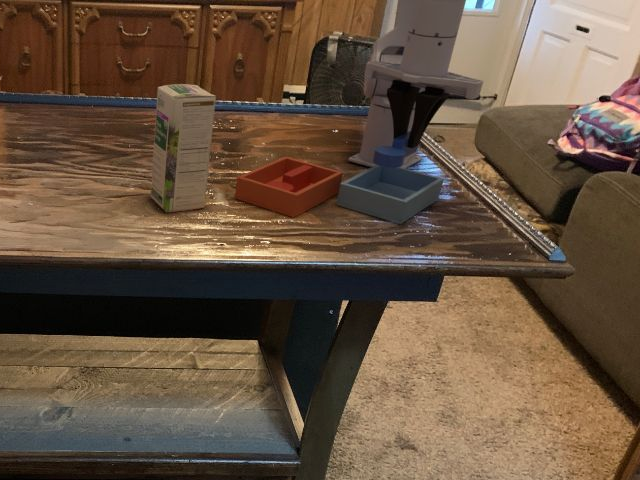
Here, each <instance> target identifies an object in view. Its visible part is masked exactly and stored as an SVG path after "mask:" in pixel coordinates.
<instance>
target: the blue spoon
mask: <svg viewBox="0 0 640 480" xmlns="http://www.w3.org/2000/svg"><path fill="white" fill-rule="evenodd" d="M410 132H411V131H409V132H407V133H405V134H403V135H401V136H399V137H397V138H394V139H393V144H392V147H390V146H381V147H377V148H376V149H375V153H374V157H373V163H375V164H376V165H379V166H382V167H388V168H397V167H401V166H402V165H403V162H404V158H405V157H407V156H409V155H411V154H413V153H415V152H417V153H418V150H417V148H418V149H419V146H416V147H414V148H408V140H409V135H410Z"/></svg>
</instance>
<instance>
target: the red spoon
mask: <svg viewBox="0 0 640 480" xmlns="http://www.w3.org/2000/svg"><path fill="white" fill-rule="evenodd" d="M312 169H313V167H311V166H307V165H303V166H300V167H298V168H296V169H294V170H292V171H289V172H287V173H285V174H283V179H282V182H280V181H272V182H268V183H266V184H267V185H270V186H274V187H277V188H280V189H284V190H287V191H290V192H293V193H295V192H297V191H299V190H301V189H303V188H305V187H307V186H309V185H310V181H311V175H312Z"/></svg>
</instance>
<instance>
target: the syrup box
mask: <svg viewBox="0 0 640 480" xmlns="http://www.w3.org/2000/svg"><path fill="white" fill-rule="evenodd" d="M156 90H157V91H156V92H157V93H156V110H155V121H154V122H155V125H154V137H153V138H154V139H153V141H154V142H153V150H152V151H153V153H152V169H151V184H150V185H151V187H150V199H151V200H153V201H154V202H155V203H156V204H157V205H158V206H159V207H160V208H161V209H162V210H163V211H164V212H165V213H174V212H183V211H191V210H198V209H205V208H206V207H205V205H206V198H207V197H206V196H207V187H208V177H209V167H210V158H211V147H212V138H213V129H214V120H215V109H216V101H217V100H216V99H217V97H216V96H217V95H215V94H212V93H210V92H209V91H207V90H206V89H204V88H201V87H200V86H199V85H198V84H188V83H187V84H186V83H175V84H166V85H161V86H158V87H157V89H156Z"/></svg>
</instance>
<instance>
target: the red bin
mask: <svg viewBox="0 0 640 480" xmlns="http://www.w3.org/2000/svg"><path fill="white" fill-rule="evenodd" d="M303 165H307V166H311V167H313V169H312V175H311V181H310V185H309V186H307V187H305V188H303V189H301V190H299V191H297V192H295V193H293V192H290V191H287V190H284V189H280V188H277V187H274V186H270V185H267V184H266V183H268V182H272V181H280V182H282V179H283V174H285V173H287V172H289V171H292V170H294V169H296V168H298V167H300V166H303ZM343 174H344V172H343V171H339V170H335V169H332V168H328V167H326V166H322V165H318V164H315V163H310V162H307V161H304V160H300V159H295V158H292V157H289V156H285V155H284V156H283V157H281V158H279V159H276V160H274V161H271V162H268V163H267V164H264V165H262V166H260V167H257V168H255V169H253V170H251V171H248V172H246V173H243V174H241V175H239V176H237V177H236V184H235V185H236V186H235V195H234V199H235V200H238V201H241V202H245V203H248V204H250V205H253V206H257V207H260V208H263V209H266V210H269V211H272V212H275V213H278V214H281V215H284V216H288V217H290V218H296V217H297V216H299V215H302V214H303V213H305V212H306V211H308V210H310V209H312V208H315V207H316V206H318V205H319V204H320V205H321V203H322V204H323V202H325V201H327V200H329V199H331V198H333V197H334V196H335V197H336V195H337V196H338V194H339V189H340V184H341V183H342V179H343Z"/></svg>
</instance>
